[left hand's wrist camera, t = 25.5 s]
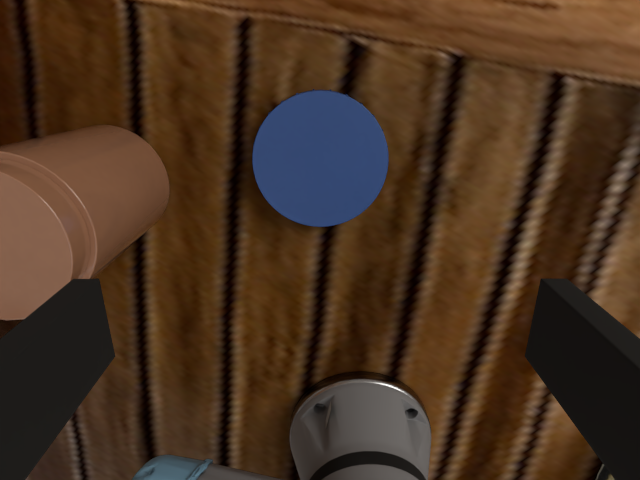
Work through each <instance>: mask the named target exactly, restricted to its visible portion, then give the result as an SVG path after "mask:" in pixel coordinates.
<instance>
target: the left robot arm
mask: <svg viewBox="0 0 640 480" xmlns="http://www.w3.org/2000/svg"><path fill="white" fill-rule="evenodd" d="M114 357H115V353H114V349H113V344H112V339H111V334H110V329H109V325H108V320H107V315H106V310H105V305H104V300H103V296H102V291H101V286H100V281H99V279H72V280H71V281H70V282H69V283H68V284H66V285H65V286H64V287H63V288H62V289H60V290H59V291H58V292H57V293H55V294H54V295H53V296H52V297H51V298H49V299H48V300H47V301H46V302H45V303H43V304H42V305H41V306H40V307H38V308H37V309H36V310H35V311H34V312H32V313H31V314H30V315H29V316H28V317H26V318H25V319H24V320H23V321H21V322H20V323H19V324H18V325H17V326H15V327H14V328H13V329H12V330H11V331H9V332H8V333H7V334H6V335H5V336H3V337H2V338H1V339H0V480H25V479H26V478H27V476H28V475H29V474H30V472H31V471H32V470H33V468H34V467H35V465H36V464H37V463H38V461H39V460H40V459H41V457H42V456H43V454H44V453H45V452H46V450H47V449H48V448H49V446H50V445H51V443H52V442H53V441H54V439H55V438H56V437H57V435H58V434H59V433H60V431H61V430H62V428H63V427H64V426H65V424H66V423H67V422H68V420H69V419H70V417H71V416H72V415H73V413H74V412H75V411H76V409H77V408H78V406H79V405H80V404H81V402H82V401H83V400H84V398H85V397H86V396H87V394H88V393H89V391H90V390H91V389H92V387H93V386H94V385H95V383H96V382H97V380H98V379H99V378H100V376H101V375H102V374H103V372H104V371H105V369H106V368H107V367H108V365H109V364H110V363H111V361H112V360H113V358H114ZM525 357H526V358H527V360H528V361H529V363H530V364H531V365H532V367H533V368H534V369H535V371H536V372H537V374H538V375H539V376H540V378H541V379H542V380H543V382H544V383H545V385H546V386H547V387H548V389H549V390H550V391H551V393H552V394H553V396H554V397H555V398H556V400H557V401H558V402H559V404H560V405H561V406H562V408H563V409H564V411H565V412H566V413H567V415H568V416H569V417H570V419H571V420H572V422H573V423H574V424H575V426H576V427H577V428H578V430H579V431H580V433H581V434H582V435H583V437H584V438H585V439H586V441H587V442H588V443H589V445H590V446H591V448H592V449H593V450H594V452H595V453H596V454H597V456H598V457H599V459H600V460H601V461H602V463H603V464H604V465H605V467H606V468H607V470H608V471H609V472H610V474H611V475H612V476H613V478H614V479H615V480H640V339H639V338H638V337H637V336H635V335H634V334H633V333H632V332H631V331H629V330H628V329H627V328H626V327H625V326H623V325H622V324H621V323H620V322H619V321H617V320H616V319H615V318H614V317H612V316H611V315H610V314H609V313H608V312H606V311H605V310H604V309H603V308H602V307H600V306H599V305H598V304H597V303H595V302H594V301H593V300H592V299H591V298H589V297H588V296H587V295H586V294H585V293H583V292H582V291H581V290H580V289H578V288H577V287H576V286H575V285H574V284H572V283H571V282H570V281H569V280H568V279H541V281H540V286H539V291H538V296H537V300H536V305H535V310H534V315H533V320H532V324H531V329H530V334H529V339H528V344H527V349H526V353H525ZM290 447H291V451H292V455H293V458H294V461H295V464H296V467H297V470H298V474H299V477H300V480H428V469H429V458H430V447H431V427H430V423H429V419H428V416H427V413H426V410H425V407H424V405H423V403H422V401H421V400H420V398H419V397H418V396H417V394H416V393H415V392H414V391H413V390H412V389H411V388H409V387H408V386H407V385H405V384H404V383H402V382H400V381H399V380H397V379H394V378H392V377H389V376H387V375H383V374H379V373H373V372H350V373H344V374H339V375H336V376H333V377H330V378H328V379H325V380H323V381H321V382H320V383H318V384H316V385H315V386H313V387H312V388H311V389H309V390H308V391H307V392H306V393H305V394H304V395H303V396H302V398H301V399H300V400H299V402H298V403H297V405H296V407H295V409H294V411H293V414H292V418H291V425H290ZM212 462H213V460H211V459H206V460H204V461H203V460H197V459H191V458H185V457H180V456H174V455H161V456H158V457H155V458H153V459H151V460H150V461H148V462H147V463H146V464H145V465H144V466H143V467H141V469H140V470H139V471H138V472H137V473H136V474H135V476H134V477H133V478H132V480H283V479H278V478H274V477H270V476H265V475H261V474H256V473H252V472H248V471H243V470H239V469H235V468H230V467H226V466H221V465H217V464H213V463H212Z"/></svg>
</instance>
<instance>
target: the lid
mask: <svg viewBox="0 0 640 480" xmlns="http://www.w3.org/2000/svg"><path fill="white" fill-rule="evenodd" d="M268 114H269V115H268V116H267V117H266V119H265V120H264V121H263V123H262V125H261V126H260V127H259V131H258V133H257V136H256V138H255V142H254V146H253V154H252V162H253V171H254V175H255V179H256V182H257V184H258V187H259V189H260V191H261V193H262V194H263V196H264V197H265V199H266V200H267V201H268V203H269V204H270V205H271V206H272V207H273V208H274V209H275V210H276V211H278V212H279V213H280V214H281V215H283V216H285V217H286V218H288V219H290V220H292V221H294V222H297V223H300V224H303V225H308V226H317V227H324V226H333V225H337V224H341V223H344V222H346V221H348V220H351V219H353V218H354V217H356V216H358V215H359V214H361V213H362V212H363V211H364V210H365V209H367V208H368V207H369V206H370V204H371V203H372V202H373V201H374V200H375V198H376V197H377V196H378V194H379V192H380V190H381V188H382V186H383V184H384V181H385V178H386V174H387V169H388V149H387V147H388V146H387V143H386V140H385V136H384V134H383V130H382V129H381V127H380V125H379V124H378V122H377V120H376V119H375V118H374V117H375V116H374V115H373V114H371V113H370V112H369V111H368V110H367V109H366V108H365V107H364V106H363V104H362V103H359V102H357V101H356V100H354V99H353V98H351V97H349V96H348V95H347V94H345V95H344V94H341V93H338V92H335V91H331V90H314V89H313V90H311V91H306V92H302V93H299V94H298V93H296V95H294V96H292V97H290V98H288V99H287V100H285V101H282V102H281V104H280V105H278V106H277V107H276V108H275V109H274V110H273V111H272V112H269V113H268Z"/></svg>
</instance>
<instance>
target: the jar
mask: <svg viewBox="0 0 640 480" xmlns="http://www.w3.org/2000/svg"><path fill="white" fill-rule="evenodd" d="M169 188H170V187H169V179H168V175H167V172H166V169H165V167H164V164H163V163H162V161H161V159H160V157H159V156H158V154H157V153H156V152H155V150H154V149H153V148H152V147H151V146H150V145H149V144H148V143H147V142H146V141H145V140H143V139H142V138H140V137H139V136H138V135H136V134H134V133H132V132H131V131H128V130H126V129H123V128H120V127H116V126H111V125H94V126H88V127H84V128H79V129H75V130H70V131H66V132H61V133H57V134H52V135H48V136H43V137H38V138H34V139H29V140H25V141H20V142H16V143H11V144H7V145H2V146H0V319H1V320H18V319H25V318H26V317H28V316H29V315H30V314H31V313H32V312H34V311H35V310H36V309H37V308H38V307H40V306H41V305H42V304H43V303H45V302H46V301H47V300H48V299H49V298H51V297H52V296H53V295H54V294H55V293H57V292H58V291H59V290H60V289H62V288H63V287H64V286H65V285H66V284H68V283H69V282H70V281H71V280H72V279H94V278H95V277H96V276H97V275H99V274H100V273H101V272H102V271H103V270H104V269H105V268H106V267H107V266H109V265H110V264H111V263H112V262H113V261H114V260H115V259H116V258H117V257H119V256H120V255H121V254H122V253H123V252H124V251H125V250H126V249H127V248H129V247H130V246H131V245H132V244H133V243H134V242H135V241H136V240H138V239H139V238H140V237H141V236H142V235H143V234H144V233H145V232H146V231H148V230H149V229H150V228H151V227H152V226H153V225H154V224H155V223H156V222H157V221H158V220H159V219H160V218H161V216H162V215H163V213H164V211H165V209H166V207H167V204H168V200H169Z"/></svg>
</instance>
